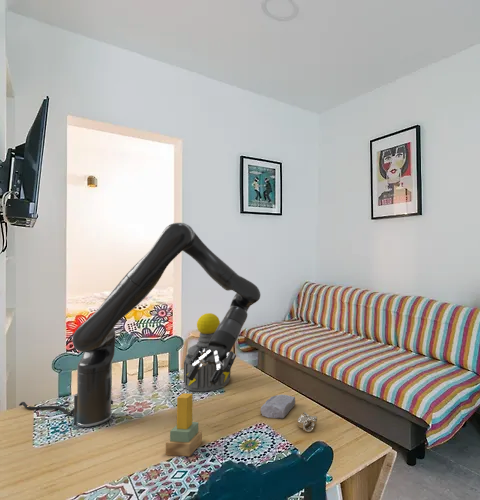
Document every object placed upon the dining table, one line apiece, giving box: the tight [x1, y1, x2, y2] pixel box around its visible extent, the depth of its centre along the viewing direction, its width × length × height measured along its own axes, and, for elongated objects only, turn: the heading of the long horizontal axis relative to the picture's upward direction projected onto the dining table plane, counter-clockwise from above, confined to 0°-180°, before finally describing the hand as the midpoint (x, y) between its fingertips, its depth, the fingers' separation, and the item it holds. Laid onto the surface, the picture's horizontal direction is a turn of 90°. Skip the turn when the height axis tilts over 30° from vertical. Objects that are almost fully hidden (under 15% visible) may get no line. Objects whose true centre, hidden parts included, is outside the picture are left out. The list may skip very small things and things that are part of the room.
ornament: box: [296, 411, 318, 433], centre depth 115 cm, size 8×7×4 cm
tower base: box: [165, 430, 203, 457], centre depth 101 cm, size 7×7×4 cm
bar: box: [176, 392, 194, 429], centre depth 101 cm, size 3×3×9 cm
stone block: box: [260, 394, 296, 419], centre depth 126 cm, size 12×5×10 cm
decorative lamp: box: [183, 312, 232, 393], centre depth 148 cm, size 19×19×30 cm
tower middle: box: [169, 421, 199, 442], centre depth 101 cm, size 6×6×3 cm
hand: (200, 381), depth 107 cm, fingers open, 8 cm apart
